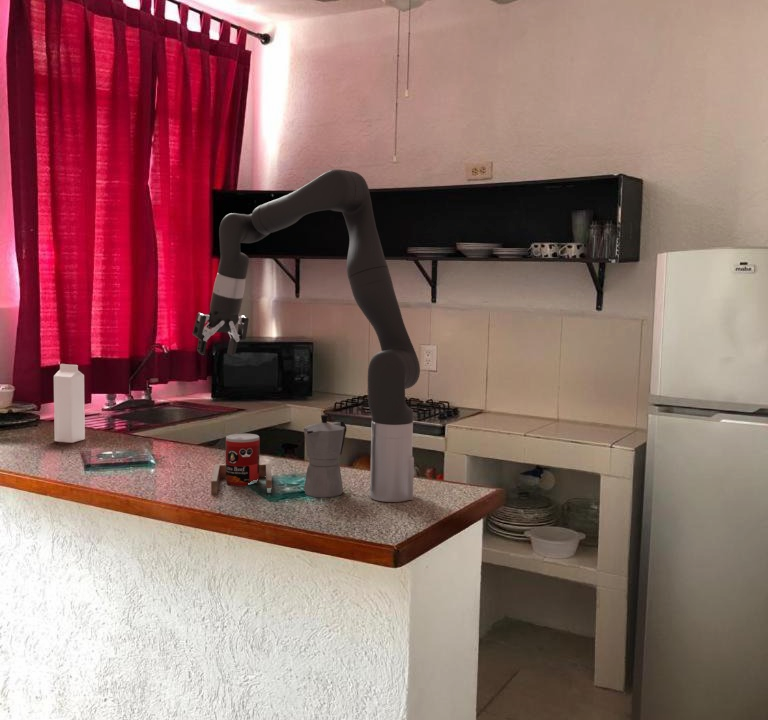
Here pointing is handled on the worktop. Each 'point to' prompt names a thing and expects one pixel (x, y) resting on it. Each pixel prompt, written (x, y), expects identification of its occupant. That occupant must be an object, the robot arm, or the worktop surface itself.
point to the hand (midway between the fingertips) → (216, 354)
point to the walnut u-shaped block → (221, 472)
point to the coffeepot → (324, 458)
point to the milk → (69, 404)
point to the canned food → (242, 459)
